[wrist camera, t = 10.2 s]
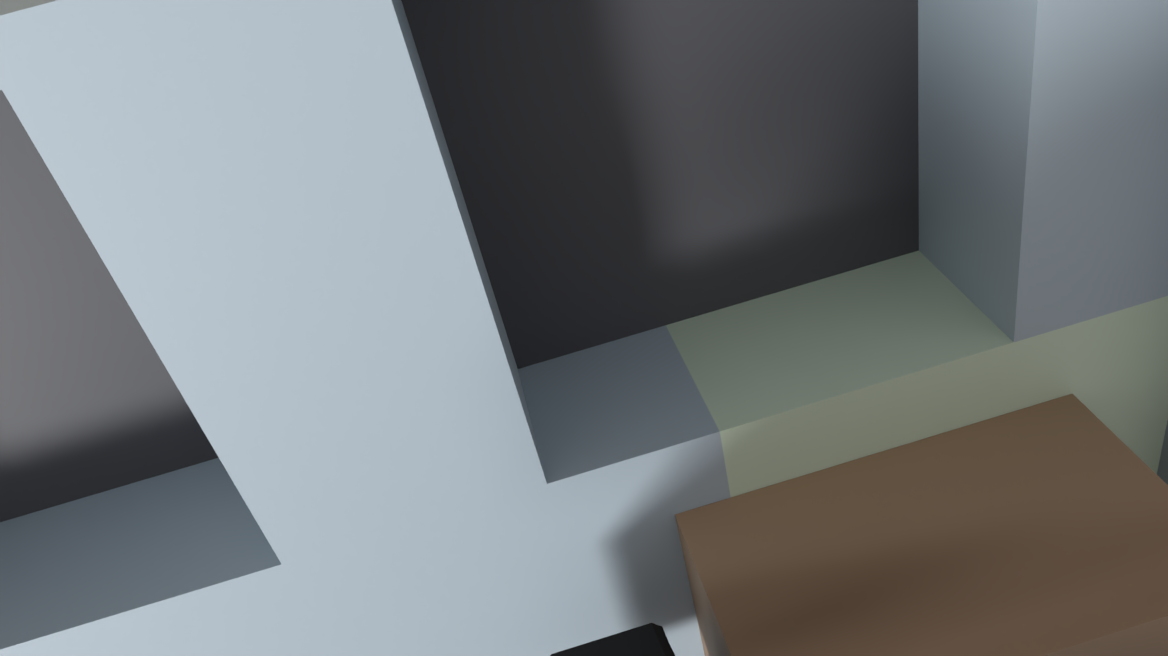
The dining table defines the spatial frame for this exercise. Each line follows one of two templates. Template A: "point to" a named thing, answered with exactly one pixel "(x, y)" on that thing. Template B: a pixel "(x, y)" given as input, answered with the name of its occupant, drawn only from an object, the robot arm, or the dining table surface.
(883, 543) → the walnut block
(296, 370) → the trap tray
